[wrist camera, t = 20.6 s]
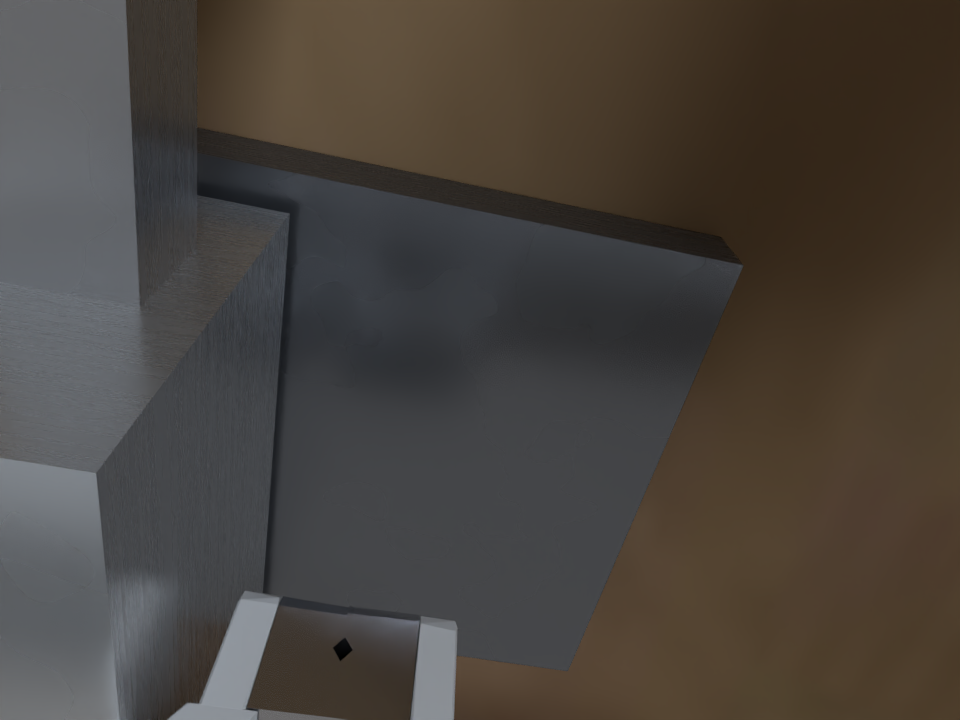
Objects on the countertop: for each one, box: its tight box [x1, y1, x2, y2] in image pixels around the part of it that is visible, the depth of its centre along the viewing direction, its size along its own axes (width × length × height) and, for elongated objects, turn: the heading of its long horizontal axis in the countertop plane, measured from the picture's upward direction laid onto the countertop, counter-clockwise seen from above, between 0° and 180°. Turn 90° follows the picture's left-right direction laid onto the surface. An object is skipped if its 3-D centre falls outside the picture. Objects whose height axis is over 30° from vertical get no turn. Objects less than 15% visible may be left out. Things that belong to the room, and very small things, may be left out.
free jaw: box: [0, 0, 290, 720], centre depth 8 cm, size 3×16×6 cm, turn 168°
